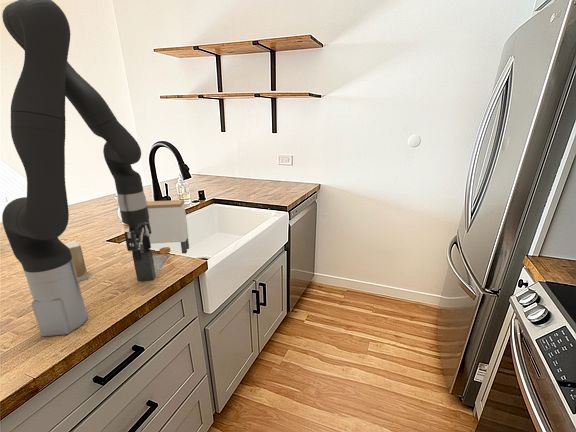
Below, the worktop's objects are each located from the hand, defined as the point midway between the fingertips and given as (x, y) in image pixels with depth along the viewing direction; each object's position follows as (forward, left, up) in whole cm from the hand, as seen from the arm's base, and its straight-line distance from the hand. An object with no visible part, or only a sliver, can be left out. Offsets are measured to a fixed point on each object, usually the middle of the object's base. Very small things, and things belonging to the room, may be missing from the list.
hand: (143, 254), depth 95 cm
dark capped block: (+7, 0, -9) cm, 11 cm away
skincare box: (+4, +23, -9) cm, 25 cm away
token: (+21, 0, -9) cm, 23 cm away
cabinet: (+21, 0, -9) cm, 23 cm away
